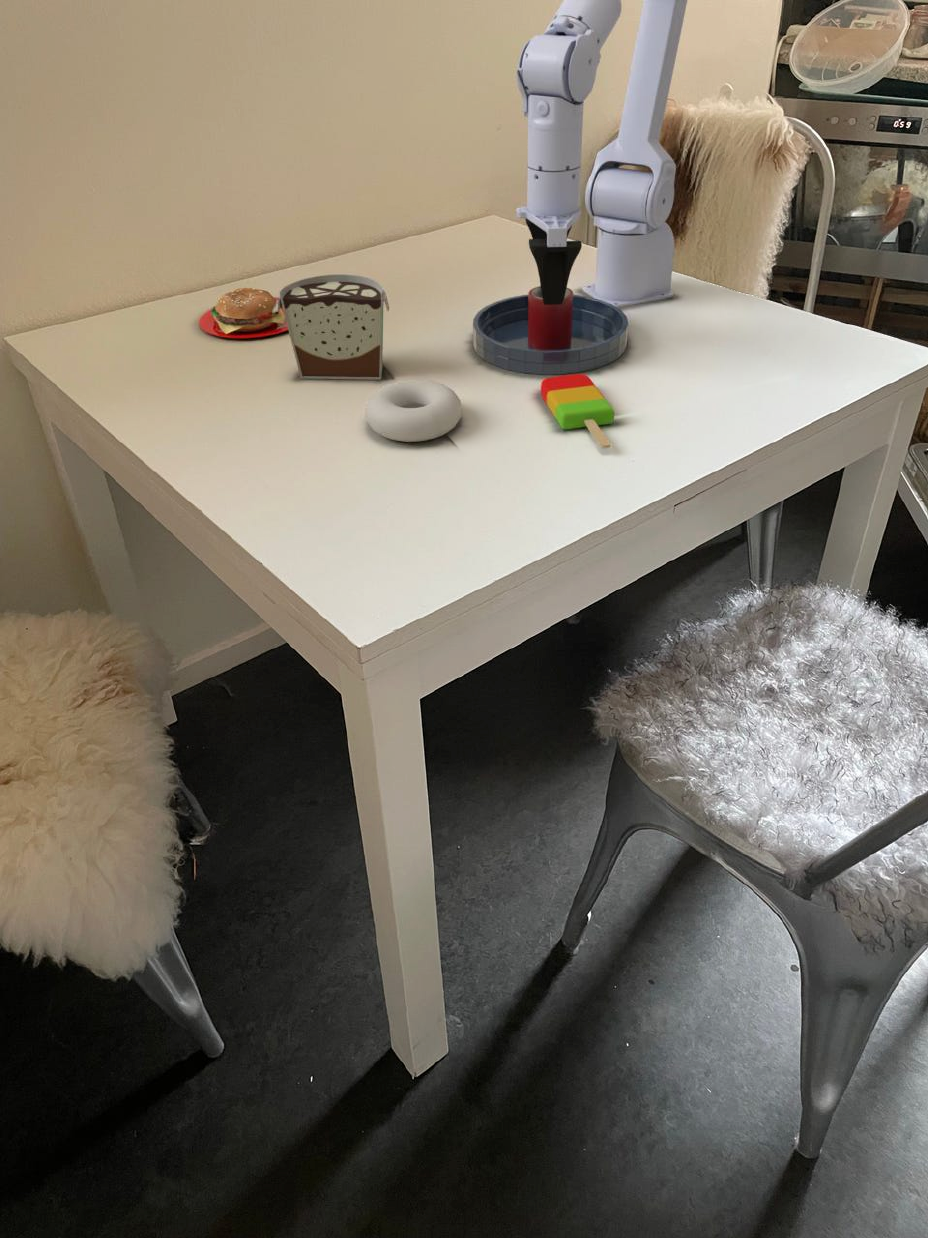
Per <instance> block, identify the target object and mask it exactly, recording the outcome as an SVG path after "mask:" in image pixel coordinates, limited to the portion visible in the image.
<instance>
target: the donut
mask: <svg viewBox="0 0 928 1238" xmlns="http://www.w3.org/2000/svg"><path fill="white" fill-rule="evenodd" d="M462 408H463V407H462V401H461V399H460V397H459V396H458V394H457V393H456V392H455V390H453V389H452V388H450V387H448V386H447V385H445V384H443V383H439V382H438V381H437V382H436V381H432V380H424V379H407V380H401V381H396V382H393V383H390V384H387V385H384V386H382V387H380V388H379V389H377V390H376V391H374V392H373V394H372V395H370V397H369V398H368V400H367V402H366V406H365V419H366V421H367V423H368V424H369V426H370V428H371V429H372V431H374V432H375V433H377V434H378V435H380V436H382V437H383V438H387V439H389V440H392V441H398V442H406V443H412V442H413V443H414V442H425V441H429V440H434V439H436V438H439V437H443V436H444V435H446V434H448V433H449V432H450V431H452V430H453V429H454V428H455V427H456V425H457V424H458V423H459V421H460V419H461V418H462V411H463V410H462Z"/></svg>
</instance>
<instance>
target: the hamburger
mask: <svg viewBox="0 0 928 1238" xmlns="http://www.w3.org/2000/svg"><path fill="white" fill-rule="evenodd" d="M198 320H199V321H198V325H199V327H200V328H201V330H203V331H204V332H205V333H207V334H210V335H212V336H216V337H220V338H229V339H251V338H261V337H267V336H271V335H277V334H280V333H283V332H287V331H289V330H288V326H287V322H286V318H285V314H284V310H283V307H282V308H281V309H280V310H278V297H277V296H276V297H275V296H273V295H272V294H271V293H270V292H269V291H268V290H266V289H258V288H253V287H246V286H245V287H240V288H234V289H231V291H228V292H226V293H224V294H223V295H221V296H220V297H219V298H218V299H217V303H216V304H215V306H213V307H212V308H210V309H209V310H207V311H206V312H205V313H203V315H202V314H201V316H200V318H199V319H198Z"/></svg>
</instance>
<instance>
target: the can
mask: <svg viewBox="0 0 928 1238" xmlns="http://www.w3.org/2000/svg"><path fill="white" fill-rule="evenodd" d="M573 294H574V291H573V290H572V289H571V288H570V287H567V288H566V293H565V297H564V300H563V303H562V304H561V305H544V302H543V298H542V293H541V286H540V285H538V286H535V287H533V288H531V289H530V290H529V291H528V294H527V295H528V345H529V346H530V347H532V348H534V349H538V350H562V349H565V348H567V347H569V346H570V345H571V339H572V314H573Z"/></svg>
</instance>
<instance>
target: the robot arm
mask: <svg viewBox="0 0 928 1238" xmlns="http://www.w3.org/2000/svg"><path fill="white" fill-rule="evenodd" d="M687 4H688V0H643V2H642V7H641V13H640V18H639V23H638V29H637V33H636V39H635V44H634V50H633V55H632V60H631V66H630V71H629V76H628V82H627V87H626V91H625V92H626V93H625V98H624V104H623V108H622V113H621V119H620V125H619V129H618V135H617V137H616V138H615V139H614V140H613V141H611V142H610V143H609V144H607V145H606V146H604V148H602V149H600V150H599V151H598V152H597V154H596V158H595V161H594V164H593V167H592V171H591V174H590V176H589V177H588V180H587V183H586V186H585V191H584V205H585V209H586V211H587V214H588V215H589V217H590V218H591V219H593V227H597V229H598V230H597V245H596V246H597V247H596V251H597V252H596V265H595V281H594V282H595V284H591V285H584V286H582V289H581V290H582V292H584V293H585V294H587V295H588V296H589V297H591V298H595V299H599V300H602V301H605V302H607V303H610V304H612V305H614V306H616V307H617V308H619V309H620V308H624V307H628V306H634V305H638V304H639V305H640V304H643V303H649V302H653V301H659V300H664V299H669V298H673V297H674V293H673V292H672V291H671V285H672V276H673V267H674V266H673V265H674V258H675V238H674V233H673V230H672V228H671V227H670V225H669V224H668V223H667V222H666V221H667V220H668V218H669V216H670V214H671V212H672V208H673V203H674V199H675V177H676V172H677V169H676V168H677V165H676V162H674V159H673V158H672V156H671V155H670V154H669V152H668V151H666V149H665V148H664V147H663V146H662V144H661V143H660V139H661V133H662V128H663V123H664V118H665V112H666V108H667V103H668V97H669V94H670V88H671V83H672V78H673V73H674V69H675V63H676V58H677V54H678V48H679V44H680V40H681V34H682V29H683V24H684V19H685V15H686V9H687ZM622 8H623V7H622V0H563V1H562V2H561V3H560V5H559V7H558V9H557V11H556V12H555V14H554V16H553V17H552V19H551V21H550V23H549V24H548V26H547V27H546V29H545V31H544V32H543V33H542V34H541V33H540V34H539V33H538V34H535V35H534V36H533V37H532V38H531V39H529V40H528V41H526V43H525V44H524V45H523V47H522V49H521V52H520V55H519V60H518V68H517V69H516V75H515V76H516V84H517V88H518V90H519V92H520V95H521V98H522V113H523V115H524V117H525V118H527V170H526V171H527V172H526V173H527V174H526V176H527V178H526V179H527V180H526V182H527V183H526V189H527V190H526V205H525V206H518V207H516V212H515V214H516V218H518V219H524V220H525V224H526V226H527V227H528V230H529V232H530V236H531V238H529V239H528V247H529V250H530V253H531V254H532V256H533V259H534V261H535V263H536V267H537V272H538V273H537V274H538V277H539V286H541V293H542V298H543V302H544V305H561V304H562V303H563V300H564V297H565V293H566V288H568V283H569V279H570V276H571V271H572V268H573V266H574V263H575V261H576V259H577V258H578V256H579V255H580V253H581V250H582V247H583V244H582V241H581V240H568V238H569V234H570V232H571V230H572V227H573V226H574V224H575V223H576V222H578V220H579V219H580V217H581V216H582V215H581V213H582V208H581V206H580V197H581V195H580V194H581V173H582V171H581V169H582V150H583V149H582V148H583V147H582V145H583V124H584V101H585V100H587V98H588V97H589V95H590V94H591V93H592V91H593V88H594V86H595V82H596V76H597V71H598V67H599V64H600V62H601V58H602V55H601V50H602V48H603V46H604V45H605V43H606V42H607V40H608V38H609V36H610V34H611V33H612V31H613V29H614V27H615V26H616V24H617V22H618V20H619V18H620V17H621V13H622ZM622 166H632V167H640V168H647V169H650V170H651V171H646V170H645V171H644V170H637V169H630V168H623V167H622Z"/></svg>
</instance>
